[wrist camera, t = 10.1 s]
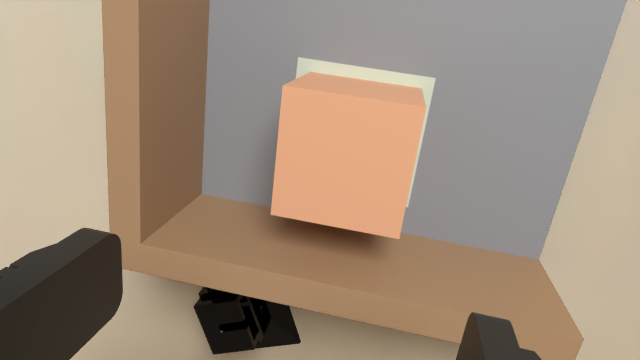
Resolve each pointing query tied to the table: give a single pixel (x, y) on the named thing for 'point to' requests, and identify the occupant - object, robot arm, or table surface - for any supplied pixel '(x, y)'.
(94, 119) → the table surface
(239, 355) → the table surface
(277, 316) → the black notched block
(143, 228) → the arena
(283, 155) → the cube
